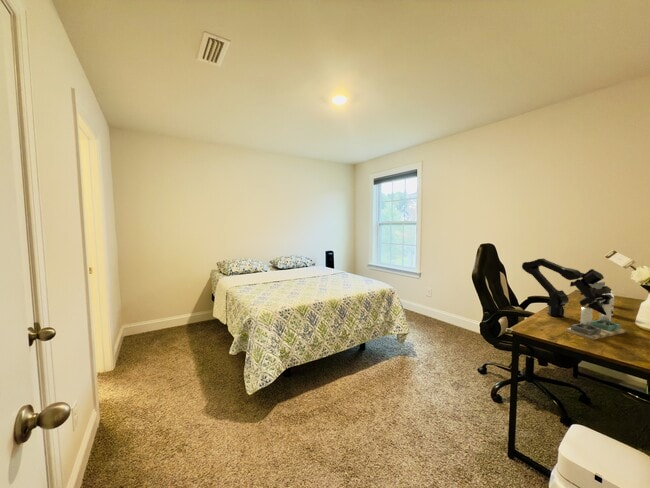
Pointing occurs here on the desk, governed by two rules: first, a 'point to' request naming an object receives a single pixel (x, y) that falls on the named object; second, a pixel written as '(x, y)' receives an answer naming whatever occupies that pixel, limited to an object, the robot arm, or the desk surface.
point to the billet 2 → (606, 318)
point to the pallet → (596, 330)
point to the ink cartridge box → (610, 302)
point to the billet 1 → (586, 318)
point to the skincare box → (597, 285)
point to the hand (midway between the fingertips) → (609, 314)
